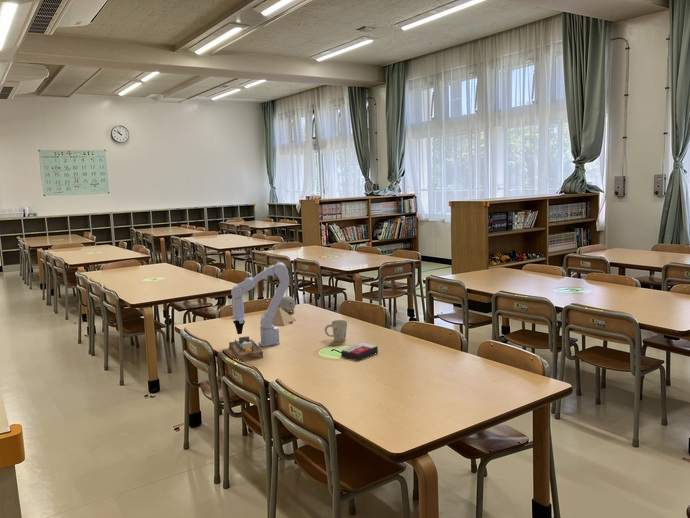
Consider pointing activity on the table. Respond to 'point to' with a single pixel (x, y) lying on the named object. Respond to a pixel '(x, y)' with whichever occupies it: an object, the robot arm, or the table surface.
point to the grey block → (245, 342)
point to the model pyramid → (282, 318)
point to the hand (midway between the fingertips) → (239, 333)
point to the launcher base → (241, 353)
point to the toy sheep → (287, 304)
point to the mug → (338, 330)
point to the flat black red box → (359, 351)
